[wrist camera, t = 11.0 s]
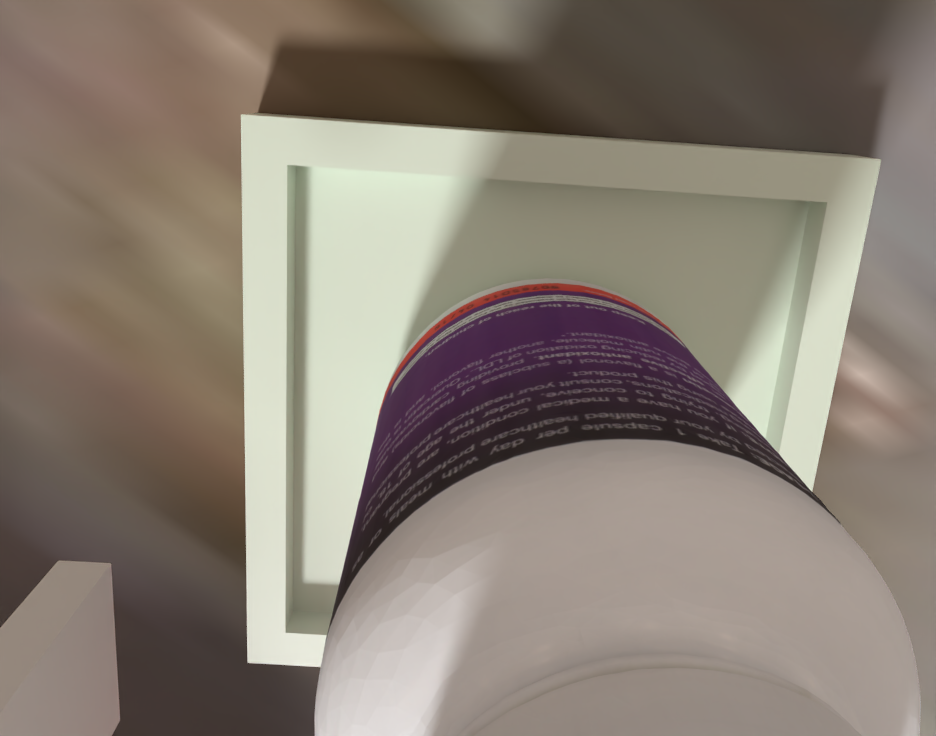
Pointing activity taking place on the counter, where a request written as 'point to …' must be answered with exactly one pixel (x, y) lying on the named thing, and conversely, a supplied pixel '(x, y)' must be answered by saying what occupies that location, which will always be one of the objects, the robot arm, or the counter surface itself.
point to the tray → (495, 263)
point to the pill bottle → (595, 548)
